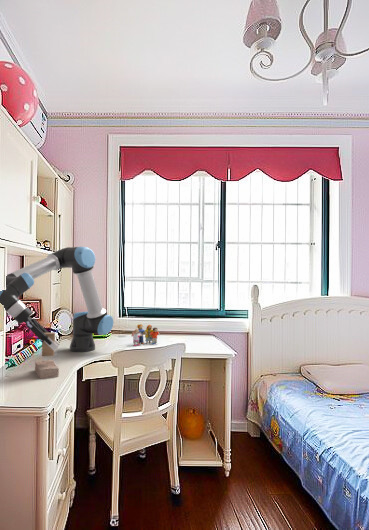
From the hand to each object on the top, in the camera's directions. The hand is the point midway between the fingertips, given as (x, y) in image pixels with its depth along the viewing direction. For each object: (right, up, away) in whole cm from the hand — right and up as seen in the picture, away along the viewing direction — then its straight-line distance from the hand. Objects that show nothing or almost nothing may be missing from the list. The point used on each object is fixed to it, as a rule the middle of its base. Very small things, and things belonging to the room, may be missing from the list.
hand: (56, 347), depth 175 cm
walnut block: (-4, -3, -1) cm, 5 cm away
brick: (-4, -12, -2) cm, 13 cm away
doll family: (+32, -14, +75) cm, 83 cm away
